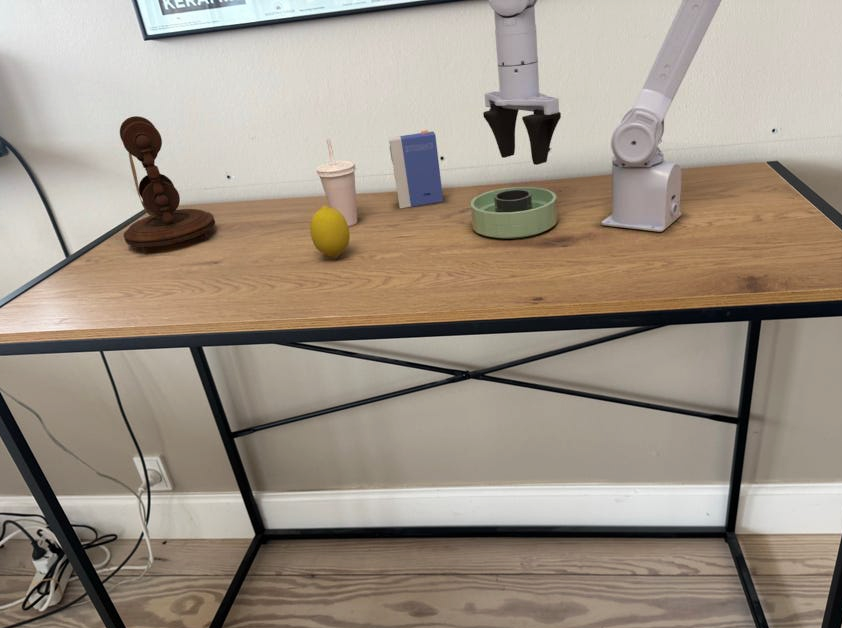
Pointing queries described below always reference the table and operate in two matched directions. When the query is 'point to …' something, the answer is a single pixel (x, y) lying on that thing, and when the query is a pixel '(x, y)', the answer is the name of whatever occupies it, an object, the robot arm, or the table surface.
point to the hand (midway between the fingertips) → (523, 159)
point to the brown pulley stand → (158, 194)
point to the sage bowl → (514, 215)
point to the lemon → (329, 231)
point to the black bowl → (513, 201)
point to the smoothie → (340, 186)
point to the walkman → (416, 169)
